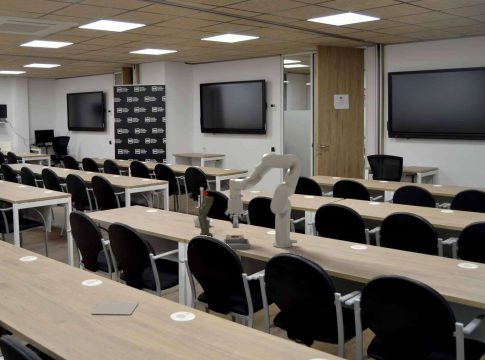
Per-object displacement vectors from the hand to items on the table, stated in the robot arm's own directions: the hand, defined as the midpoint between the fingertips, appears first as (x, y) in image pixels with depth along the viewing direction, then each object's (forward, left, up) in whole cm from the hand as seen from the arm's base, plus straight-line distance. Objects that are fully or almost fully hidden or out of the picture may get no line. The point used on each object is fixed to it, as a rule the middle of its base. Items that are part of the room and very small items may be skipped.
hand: (235, 223), depth 353 cm
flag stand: (+23, -51, -12) cm, 58 cm away
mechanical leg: (+20, -11, -12) cm, 26 cm away
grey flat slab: (+63, +130, -12) cm, 145 cm away
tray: (0, +17, -12) cm, 21 cm away
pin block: (0, 0, -12) cm, 12 cm away
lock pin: (0, 0, -3) cm, 3 cm away
